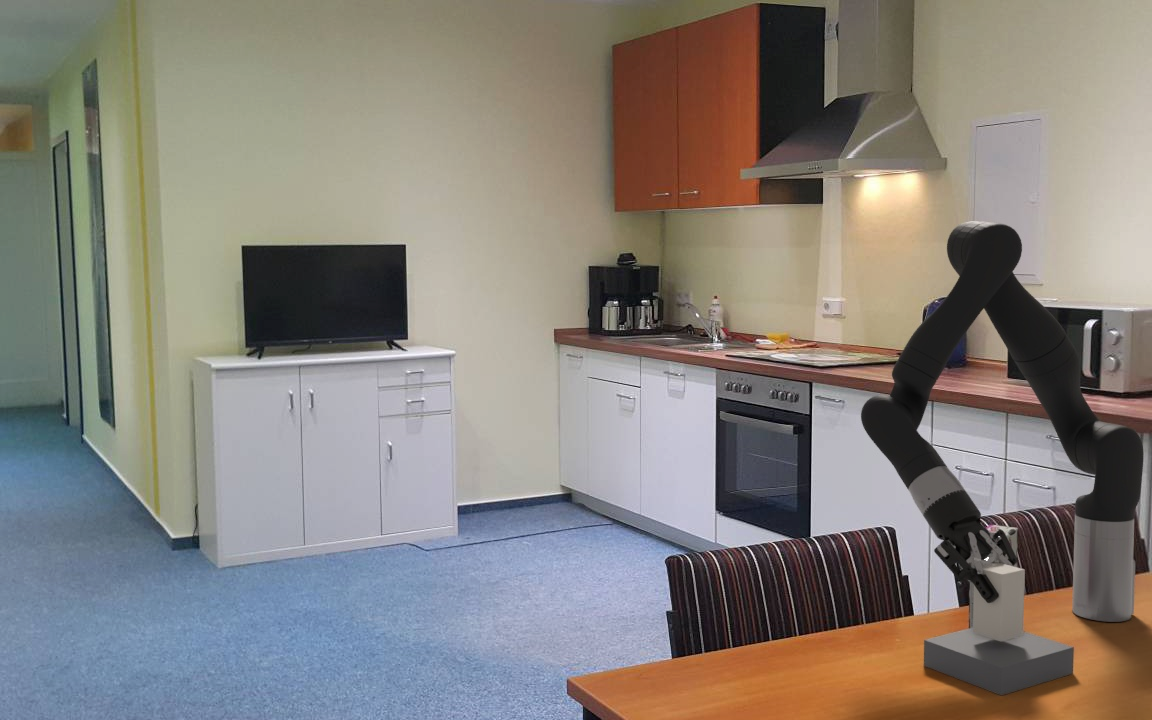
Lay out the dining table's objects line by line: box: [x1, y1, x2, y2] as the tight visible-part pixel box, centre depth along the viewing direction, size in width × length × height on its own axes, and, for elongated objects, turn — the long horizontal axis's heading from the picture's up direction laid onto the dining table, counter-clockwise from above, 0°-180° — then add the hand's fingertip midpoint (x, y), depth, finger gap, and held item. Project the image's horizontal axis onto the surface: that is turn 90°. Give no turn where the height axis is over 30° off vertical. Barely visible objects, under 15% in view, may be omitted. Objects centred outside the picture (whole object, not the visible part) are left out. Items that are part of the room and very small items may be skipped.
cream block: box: [973, 562, 1026, 642], centre depth 167 cm, size 5×5×10 cm
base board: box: [923, 627, 1075, 696], centre depth 168 cm, size 16×14×4 cm
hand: (1006, 596), depth 166 cm, fingers closed on cream block, 5 cm apart
